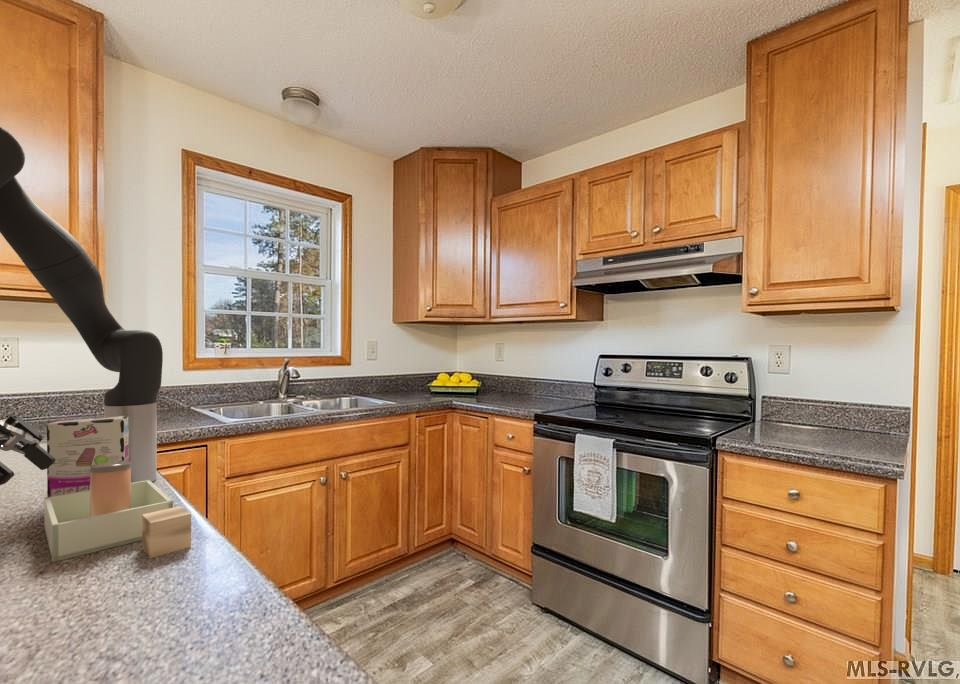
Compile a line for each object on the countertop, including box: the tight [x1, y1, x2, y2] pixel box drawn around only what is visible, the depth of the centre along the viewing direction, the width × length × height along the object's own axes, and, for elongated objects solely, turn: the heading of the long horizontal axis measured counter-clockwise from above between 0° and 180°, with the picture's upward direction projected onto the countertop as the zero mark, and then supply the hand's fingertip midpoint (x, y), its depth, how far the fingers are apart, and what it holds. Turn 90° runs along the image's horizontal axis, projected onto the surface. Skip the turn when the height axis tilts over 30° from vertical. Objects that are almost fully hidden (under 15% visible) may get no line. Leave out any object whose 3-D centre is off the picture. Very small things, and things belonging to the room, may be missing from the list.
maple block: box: [141, 505, 192, 559], centre depth 69 cm, size 5×5×5 cm
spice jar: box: [90, 461, 131, 517], centre depth 73 cm, size 5×5×11 cm
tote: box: [43, 480, 174, 563], centre depth 76 cm, size 17×14×5 cm
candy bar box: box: [46, 416, 129, 498], centre depth 87 cm, size 11×5×16 cm, turn 117°
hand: (30, 472), depth 71 cm, fingers open, 8 cm apart
